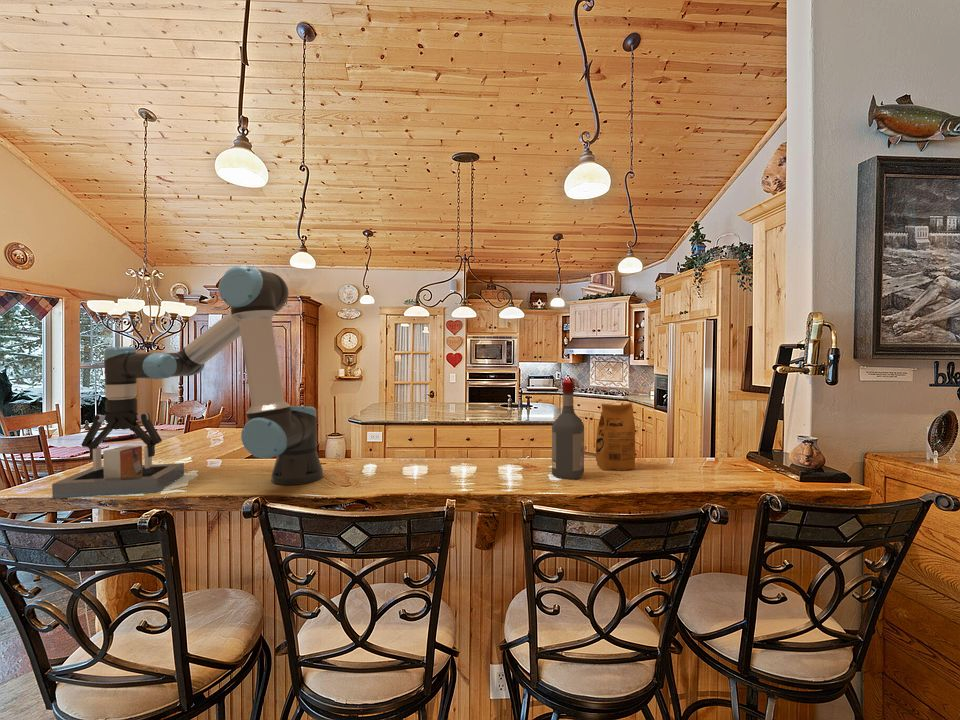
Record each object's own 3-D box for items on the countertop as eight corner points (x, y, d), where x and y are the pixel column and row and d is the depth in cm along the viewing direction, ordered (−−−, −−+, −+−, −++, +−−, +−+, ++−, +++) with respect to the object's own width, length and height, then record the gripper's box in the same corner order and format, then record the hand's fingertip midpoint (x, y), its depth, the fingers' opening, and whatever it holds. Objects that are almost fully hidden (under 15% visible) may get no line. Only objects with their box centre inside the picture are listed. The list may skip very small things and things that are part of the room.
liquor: (585, 473, 153) (585, 382, 152) (578, 480, 145) (579, 384, 144) (557, 470, 157) (558, 381, 156) (550, 477, 148) (550, 383, 148)
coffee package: (593, 463, 166) (593, 401, 165) (628, 463, 166) (629, 401, 165) (600, 471, 156) (601, 405, 155) (638, 471, 156) (638, 405, 155)
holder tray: (184, 475, 152) (183, 463, 152) (157, 492, 134) (156, 478, 134) (93, 479, 147) (92, 467, 147) (52, 498, 129) (52, 483, 129)
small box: (120, 486, 136) (119, 451, 136) (103, 486, 137) (102, 450, 137) (143, 479, 144) (142, 445, 144) (127, 478, 145) (126, 444, 145)
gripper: (173, 395, 146) (174, 463, 147) (81, 397, 141) (83, 467, 142) (161, 398, 139) (163, 469, 139) (64, 400, 134) (67, 474, 134)
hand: (123, 468), depth 141 cm, fingers open, 13 cm apart
